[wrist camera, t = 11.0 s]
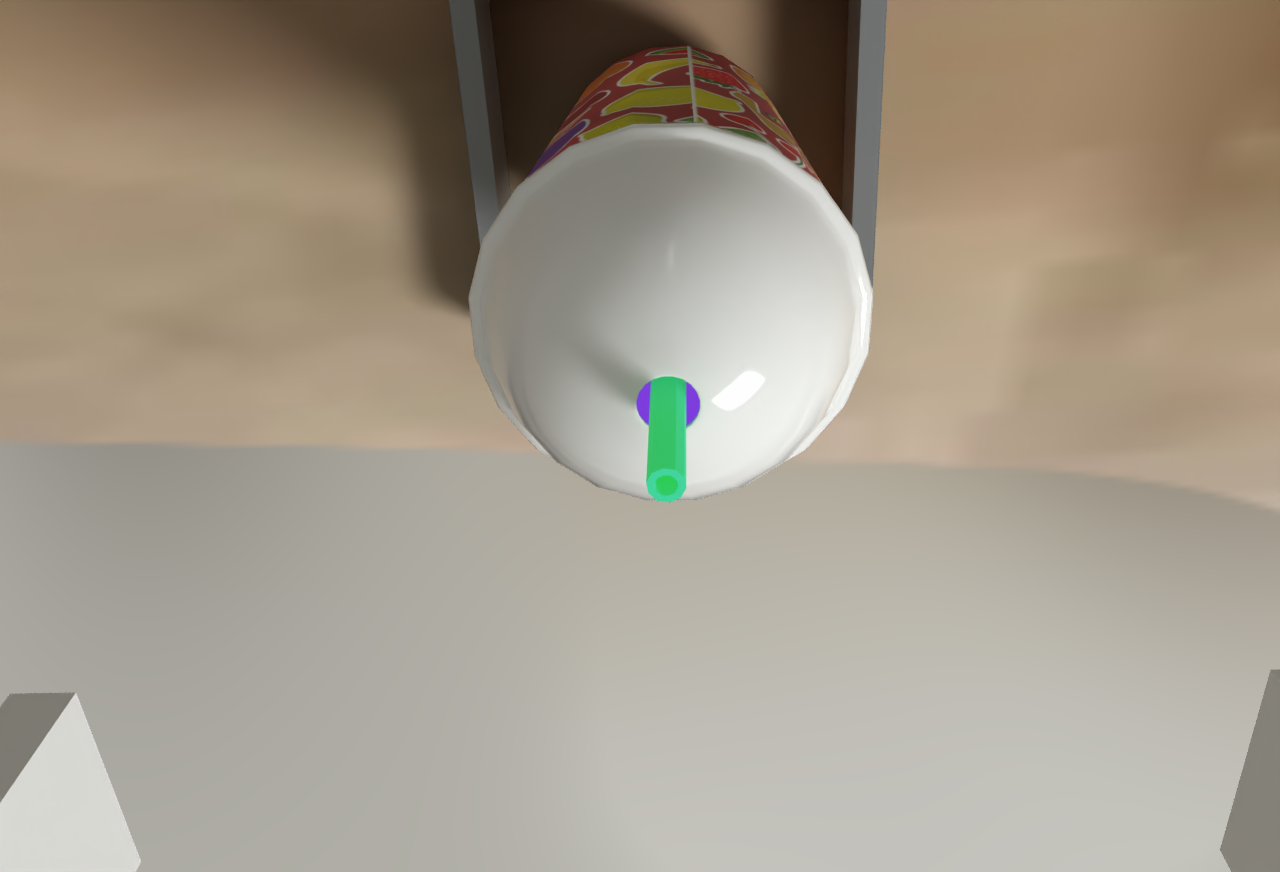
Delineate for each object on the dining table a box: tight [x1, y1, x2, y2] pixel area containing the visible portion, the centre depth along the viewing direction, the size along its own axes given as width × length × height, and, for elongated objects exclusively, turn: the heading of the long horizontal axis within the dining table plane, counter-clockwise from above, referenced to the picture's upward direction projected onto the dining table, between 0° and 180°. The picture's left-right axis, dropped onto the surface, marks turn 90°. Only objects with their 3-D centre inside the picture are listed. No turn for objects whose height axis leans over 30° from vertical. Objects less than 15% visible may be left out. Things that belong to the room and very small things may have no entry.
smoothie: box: [468, 46, 873, 502], centre depth 27 cm, size 8×8×20 cm
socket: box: [449, 0, 887, 346], centre depth 34 cm, size 12×12×2 cm
